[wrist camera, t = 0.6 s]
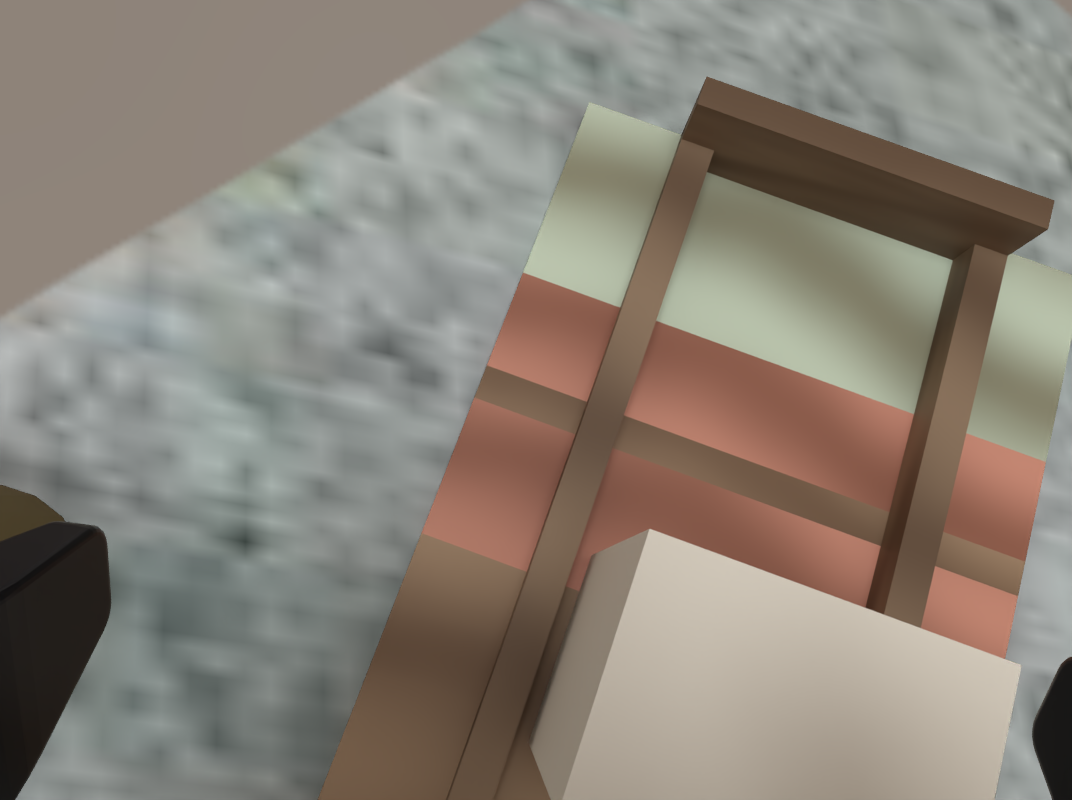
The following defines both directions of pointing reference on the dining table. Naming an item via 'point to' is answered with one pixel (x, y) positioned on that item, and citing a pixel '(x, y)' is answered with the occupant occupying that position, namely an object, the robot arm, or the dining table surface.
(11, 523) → the olive bell shape
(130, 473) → the dining table surface
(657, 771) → the cream block
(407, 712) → the board
